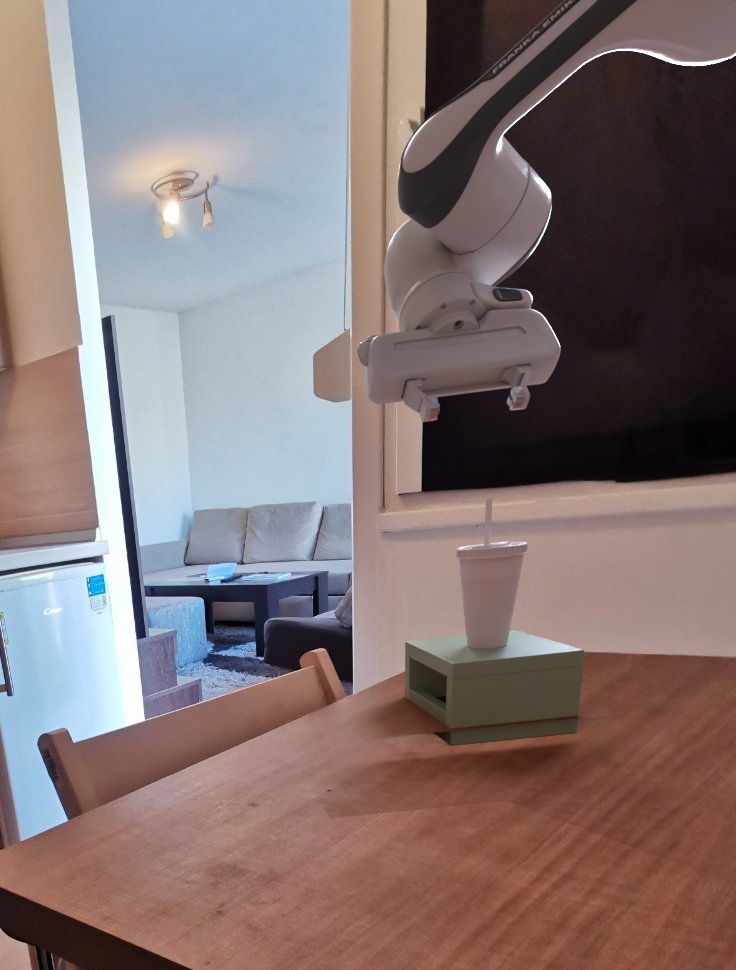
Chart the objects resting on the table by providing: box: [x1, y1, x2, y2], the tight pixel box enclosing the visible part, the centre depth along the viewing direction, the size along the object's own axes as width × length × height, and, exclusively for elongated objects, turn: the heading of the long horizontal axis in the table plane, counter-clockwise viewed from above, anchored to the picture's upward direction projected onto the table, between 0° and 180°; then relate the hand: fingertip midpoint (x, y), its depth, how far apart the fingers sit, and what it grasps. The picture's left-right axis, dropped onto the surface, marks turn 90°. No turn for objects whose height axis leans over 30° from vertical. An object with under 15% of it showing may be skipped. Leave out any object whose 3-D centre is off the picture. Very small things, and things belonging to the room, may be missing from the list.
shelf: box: [404, 629, 585, 746], centre depth 78 cm, size 12×14×8 cm
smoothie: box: [455, 497, 529, 649], centre depth 75 cm, size 6×6×14 cm
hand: (476, 410), depth 81 cm, fingers open, 8 cm apart
